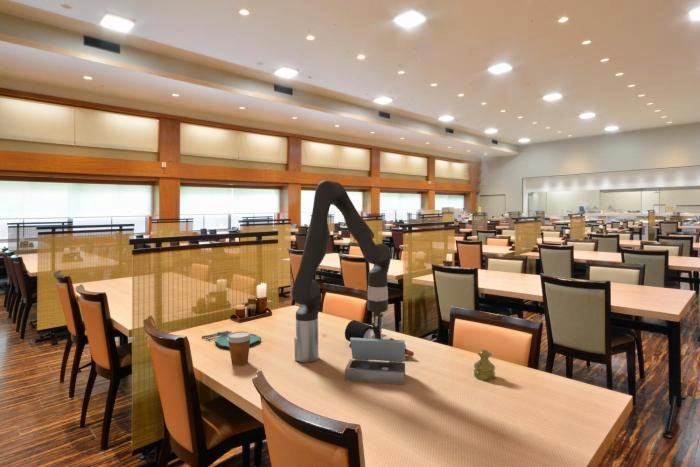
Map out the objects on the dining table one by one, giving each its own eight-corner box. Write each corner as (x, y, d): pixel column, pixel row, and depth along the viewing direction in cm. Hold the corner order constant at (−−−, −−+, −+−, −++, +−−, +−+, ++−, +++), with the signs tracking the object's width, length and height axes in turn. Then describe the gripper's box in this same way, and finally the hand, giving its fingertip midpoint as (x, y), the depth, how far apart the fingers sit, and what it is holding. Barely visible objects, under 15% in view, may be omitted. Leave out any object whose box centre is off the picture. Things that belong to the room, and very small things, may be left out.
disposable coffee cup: (256, 360, 165) (256, 332, 164) (241, 369, 156) (240, 339, 155) (238, 357, 169) (237, 329, 168) (222, 365, 160) (221, 336, 159)
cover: (350, 339, 148) (350, 336, 149) (352, 360, 153) (353, 356, 154) (404, 342, 144) (404, 339, 146) (405, 363, 149) (405, 360, 151)
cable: (408, 371, 164) (403, 353, 159) (347, 345, 186) (342, 329, 181) (420, 354, 170) (416, 337, 165) (360, 331, 192) (355, 315, 187)
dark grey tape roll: (377, 380, 145) (377, 370, 145) (379, 374, 150) (379, 365, 150) (390, 381, 144) (390, 371, 143) (392, 376, 148) (392, 366, 148)
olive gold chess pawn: (494, 374, 149) (495, 348, 149) (495, 382, 142) (495, 354, 142) (474, 371, 152) (474, 346, 151) (473, 379, 145) (473, 352, 144)
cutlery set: (231, 354, 174) (231, 349, 174) (197, 340, 194) (197, 335, 194) (268, 342, 189) (268, 337, 189) (233, 330, 209) (232, 326, 209)
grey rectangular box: (345, 380, 145) (345, 368, 144) (349, 370, 154) (349, 359, 154) (403, 384, 141) (403, 372, 141) (405, 374, 150) (405, 362, 150)
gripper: (370, 293, 155) (370, 336, 156) (365, 301, 142) (365, 348, 143) (389, 293, 154) (389, 337, 155) (386, 302, 141) (386, 350, 142)
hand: (377, 342), depth 149 cm, fingers closed
